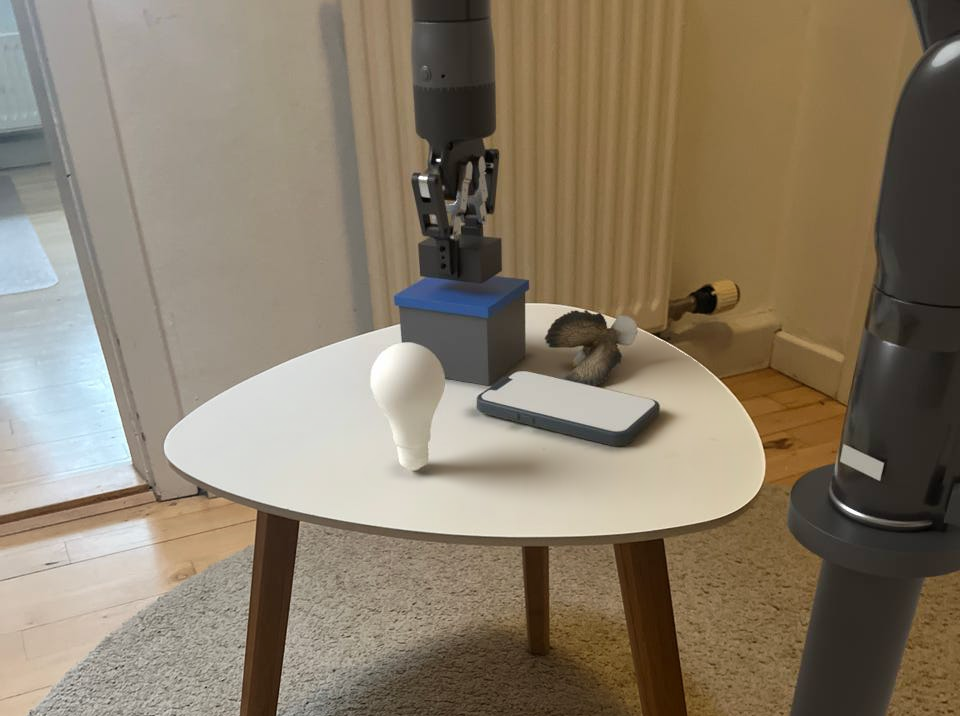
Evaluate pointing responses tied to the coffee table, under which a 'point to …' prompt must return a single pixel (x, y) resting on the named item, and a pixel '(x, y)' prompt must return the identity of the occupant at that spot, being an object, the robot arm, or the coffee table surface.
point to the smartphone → (569, 407)
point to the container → (467, 324)
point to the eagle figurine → (591, 343)
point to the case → (465, 258)
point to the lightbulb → (408, 397)
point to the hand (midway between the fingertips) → (461, 270)
